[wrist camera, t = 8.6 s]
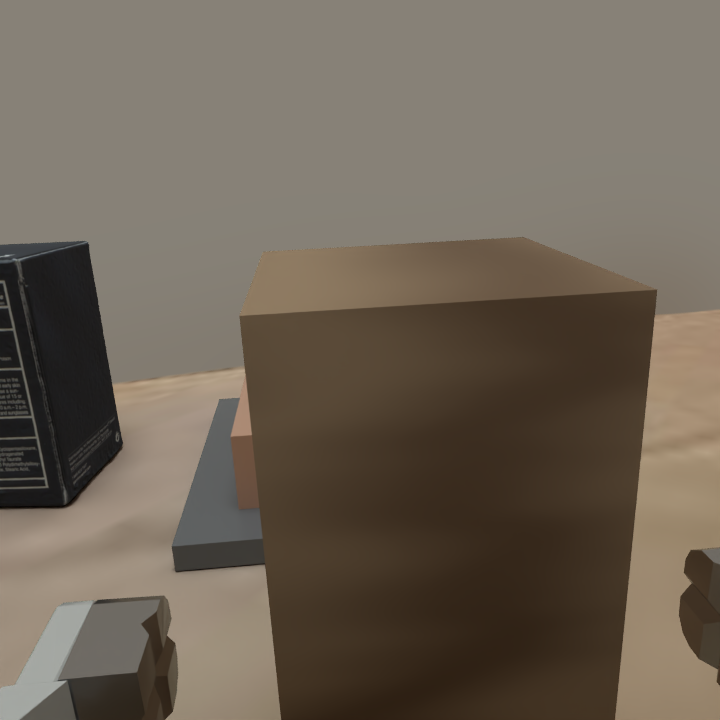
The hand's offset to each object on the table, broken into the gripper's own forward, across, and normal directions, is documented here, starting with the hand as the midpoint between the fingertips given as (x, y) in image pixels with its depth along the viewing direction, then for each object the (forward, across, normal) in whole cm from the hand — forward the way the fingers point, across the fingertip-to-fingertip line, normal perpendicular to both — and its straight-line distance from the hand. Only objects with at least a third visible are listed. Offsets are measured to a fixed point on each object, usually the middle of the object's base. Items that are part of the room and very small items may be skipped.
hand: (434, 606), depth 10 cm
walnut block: (+2, 0, +7) cm, 7 cm away
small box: (+20, +17, +7) cm, 28 cm away
